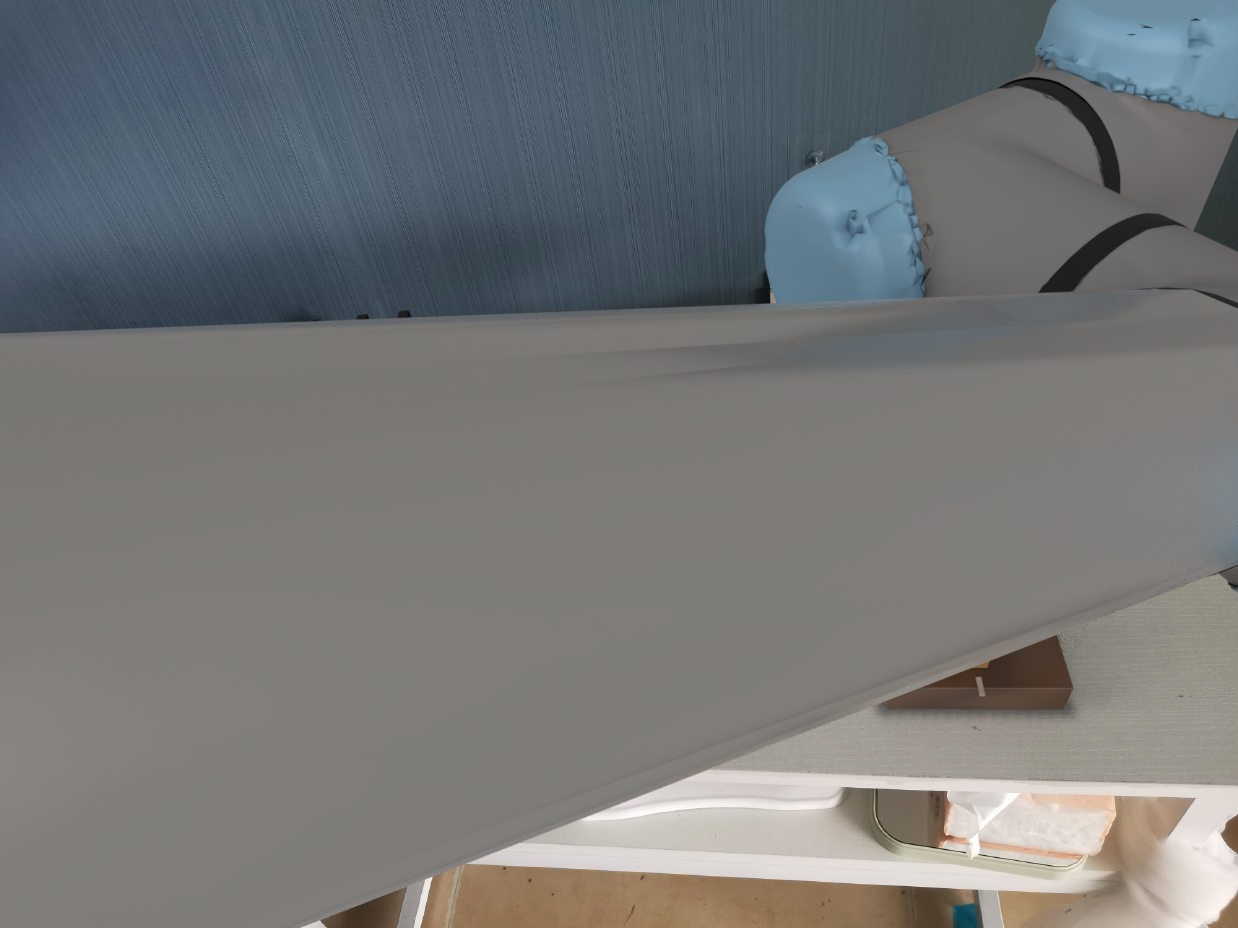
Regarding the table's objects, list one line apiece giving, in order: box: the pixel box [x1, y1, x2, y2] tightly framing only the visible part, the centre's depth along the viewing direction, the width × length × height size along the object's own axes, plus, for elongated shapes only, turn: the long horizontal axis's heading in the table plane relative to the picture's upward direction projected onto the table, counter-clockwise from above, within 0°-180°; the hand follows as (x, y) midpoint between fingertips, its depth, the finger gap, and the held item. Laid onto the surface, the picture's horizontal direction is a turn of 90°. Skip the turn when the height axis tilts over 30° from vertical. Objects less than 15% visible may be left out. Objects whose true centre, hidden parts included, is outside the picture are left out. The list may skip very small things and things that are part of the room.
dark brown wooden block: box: [884, 635, 1074, 710], centre depth 64 cm, size 12×9×3 cm
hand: (981, 586), depth 58 cm, fingers open, 13 cm apart
